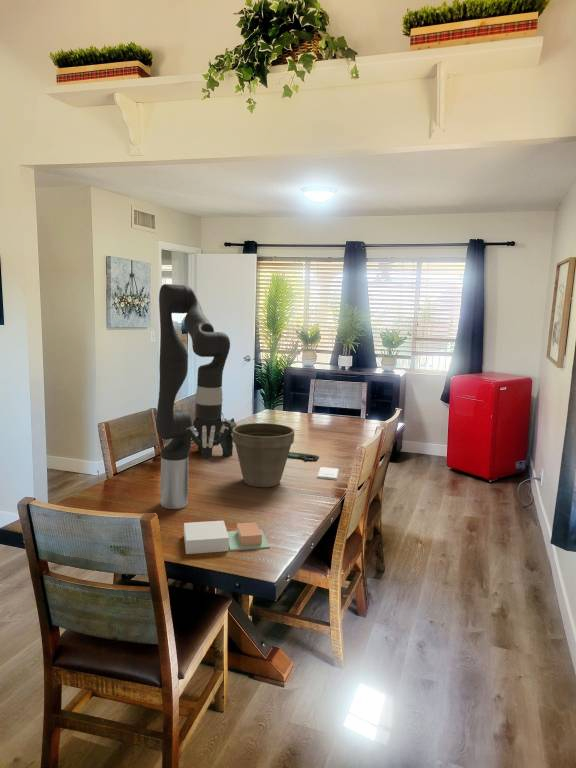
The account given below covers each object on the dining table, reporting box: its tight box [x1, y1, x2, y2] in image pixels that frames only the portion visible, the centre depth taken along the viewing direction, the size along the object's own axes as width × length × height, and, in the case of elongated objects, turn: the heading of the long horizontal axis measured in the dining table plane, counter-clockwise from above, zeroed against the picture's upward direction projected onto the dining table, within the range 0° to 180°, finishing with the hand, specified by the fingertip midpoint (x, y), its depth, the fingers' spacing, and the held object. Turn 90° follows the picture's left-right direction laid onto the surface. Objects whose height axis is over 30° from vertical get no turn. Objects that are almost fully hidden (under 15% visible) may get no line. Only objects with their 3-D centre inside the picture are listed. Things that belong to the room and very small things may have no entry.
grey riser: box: [183, 520, 230, 555], centre depth 150 cm, size 12×12×4 cm
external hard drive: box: [316, 466, 340, 481], centre depth 219 cm, size 2×8×12 cm
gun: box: [287, 451, 320, 462], centre depth 241 cm, size 16×1×10 cm
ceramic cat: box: [197, 413, 238, 458], centre depth 240 cm, size 20×6×20 cm, turn 62°
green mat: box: [227, 528, 270, 552], centre depth 154 cm, size 12×12×1 cm
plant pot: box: [232, 422, 295, 488], centre depth 204 cm, size 25×25×22 cm
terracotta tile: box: [236, 521, 262, 546], centre depth 154 cm, size 9×6×3 cm, turn 14°
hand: (206, 459), depth 150 cm, fingers closed
